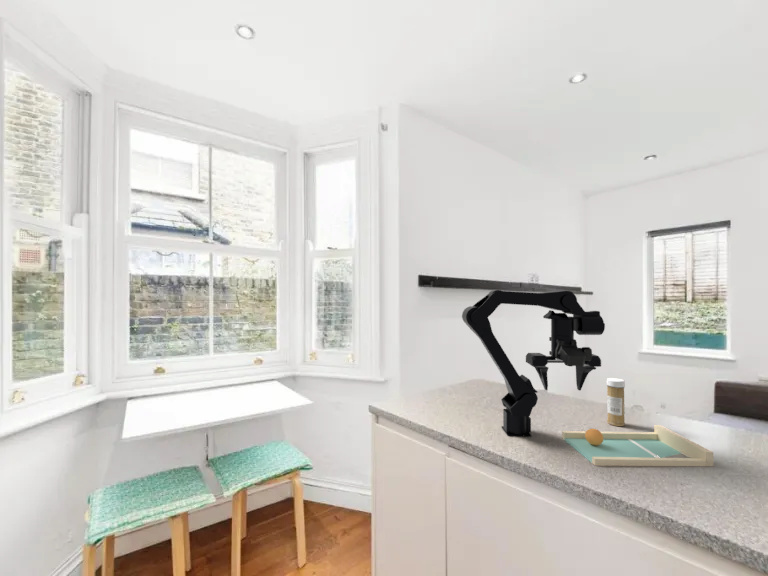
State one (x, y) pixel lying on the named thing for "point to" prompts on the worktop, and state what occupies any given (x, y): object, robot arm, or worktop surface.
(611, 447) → the lane
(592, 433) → the ball
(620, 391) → the sprinkles bottle
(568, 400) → the worktop surface
